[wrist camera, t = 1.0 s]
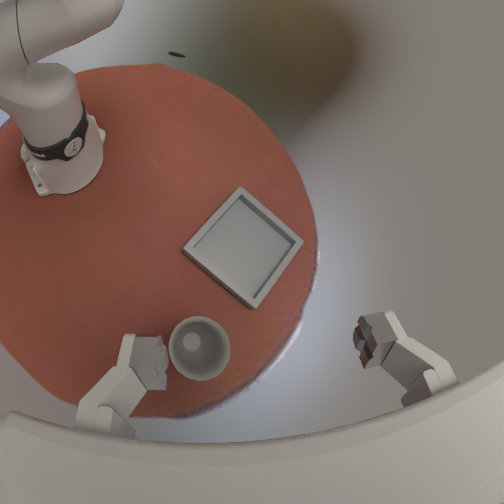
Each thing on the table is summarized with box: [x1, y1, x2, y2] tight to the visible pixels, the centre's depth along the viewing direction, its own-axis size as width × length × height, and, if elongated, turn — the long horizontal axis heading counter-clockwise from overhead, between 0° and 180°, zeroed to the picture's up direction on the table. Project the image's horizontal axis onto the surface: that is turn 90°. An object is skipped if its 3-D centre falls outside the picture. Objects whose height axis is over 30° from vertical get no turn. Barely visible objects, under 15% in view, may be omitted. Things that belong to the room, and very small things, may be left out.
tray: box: [182, 186, 304, 309], centre depth 50 cm, size 16×16×3 cm
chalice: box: [169, 316, 230, 381], centre depth 37 cm, size 7×7×18 cm
